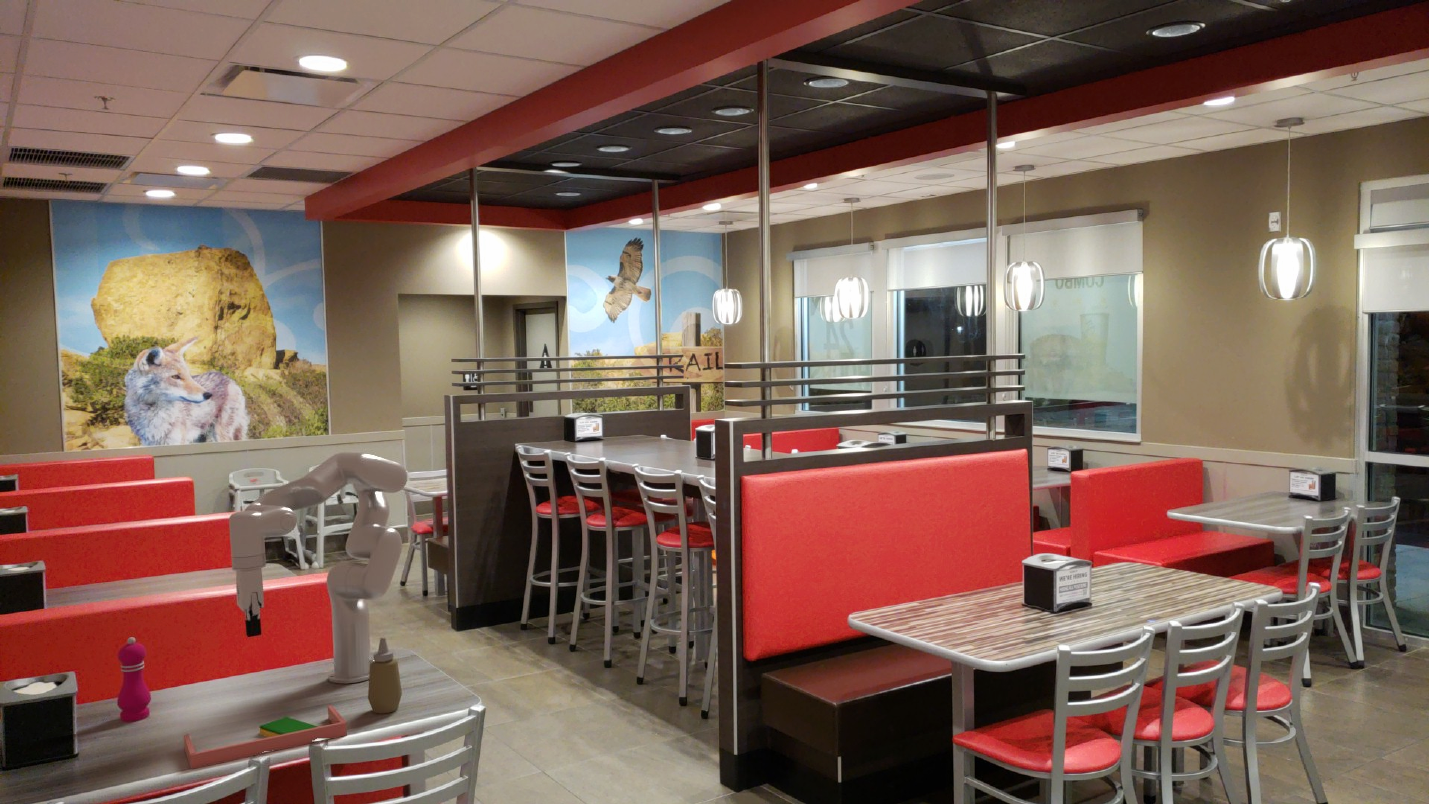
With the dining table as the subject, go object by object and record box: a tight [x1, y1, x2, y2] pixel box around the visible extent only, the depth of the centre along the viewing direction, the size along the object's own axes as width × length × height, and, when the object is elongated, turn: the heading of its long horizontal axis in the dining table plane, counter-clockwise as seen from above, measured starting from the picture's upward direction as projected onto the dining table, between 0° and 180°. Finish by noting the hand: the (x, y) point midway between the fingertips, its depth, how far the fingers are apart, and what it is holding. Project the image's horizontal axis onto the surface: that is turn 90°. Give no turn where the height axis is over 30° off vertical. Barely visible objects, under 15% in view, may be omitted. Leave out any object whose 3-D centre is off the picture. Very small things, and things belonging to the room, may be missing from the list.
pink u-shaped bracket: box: [183, 705, 348, 770], centre depth 228 cm, size 32×14×3 cm, turn 123°
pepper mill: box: [116, 636, 152, 723], centre depth 246 cm, size 7×7×20 cm
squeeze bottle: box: [367, 637, 403, 714], centre depth 247 cm, size 8×8×18 cm
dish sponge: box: [259, 716, 319, 738], centre depth 232 cm, size 7×14×2 cm, turn 55°
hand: (253, 635), depth 246 cm, fingers closed
